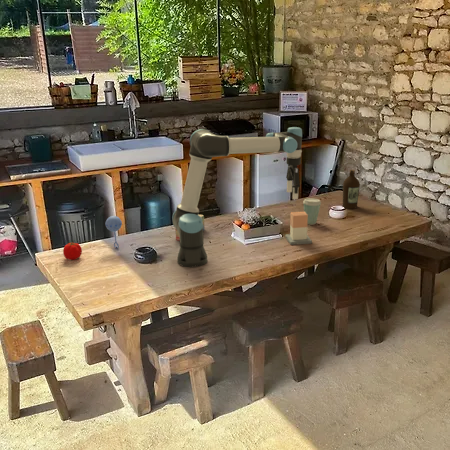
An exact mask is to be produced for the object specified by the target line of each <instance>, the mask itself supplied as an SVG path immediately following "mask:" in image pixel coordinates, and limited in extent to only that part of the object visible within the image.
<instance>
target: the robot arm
mask: <svg viewBox="0 0 450 450" xmlns="http://www.w3.org/2000/svg"><path fill="white" fill-rule="evenodd" d="M302 140H303V129H302V128H301V127H299V126H298V127H297V126H292V127H288V128H287V131H285V132H284V131H282V132H281V131H280V132H268V133H266V135H265V136H256V137H255V136H253V137H251V136H250V137H249V136H248V137H229V136H228V135H219V134H214V133H213V132H211V131H210V130H207V129H205V128H204V129H203V128H201V129H196V130H195V131H194V132H193V133H191V135H190V138H189V145H190V149H189V153H188V155H189V157H190V161H189V166H188V171H187V175H186V178H185V179H186V180H185V184H184V188H183V192H182V197H181V200H180V203H179V204H177V206H176V210H175V211H174V212H173V214H172V217H171V218H172V222H171V223H172V225H173V227H174V229H176V230H177V231H178V233H179V235H180V241H179V247H180V248H179V251H178V253H177V259H176V260H177V261H176V262H177V264H178V265H180V266H181V267H186V268H196V267H201V266H203V265H205V264H206V263H208V254H207V252H206V249H205V245H204V230H203V222H202V218H201V217H200V216H199V215H200V214H199V213H200V209H199V208H198V205H199V201H200V196H201V192H202V188H203V183H204V179H205V175H206V171H207V168H208V167H207V166H208V163H209V162H210V161H212V159H213V158H217V157H218V158H219V157H228V156H229V155H231V154H232V155H233V154H235V155H236V154H257V153H258V154H260V153H261V154H262V153H284V152H285V153H286V165H287V171H286V193H292V200H298V199H299V189H300V187H301V183H300V182H301V181H300V169H299V168H298V166H300V165H301V164H302V162H301V161H302V152H303V150H302V144H303V143H302ZM198 214H199V215H198ZM176 230H175V231H176Z"/></svg>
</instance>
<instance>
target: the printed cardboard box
mask: <svg viewBox="0 0 450 450" xmlns="http://www.w3.org/2000/svg"><path fill="white" fill-rule="evenodd" d="M198 215H199V216H200V217H201V218H202V222H203V231H205V230H206V229H205V216H204V215H203V214H199V213H198ZM174 229H175V228H174ZM175 240H176V241H179V242H180V235H179V233H178V231H177V230H176V229H175Z"/></svg>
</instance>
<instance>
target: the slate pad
mask: <svg viewBox="0 0 450 450" xmlns="http://www.w3.org/2000/svg"><path fill="white" fill-rule="evenodd" d="M284 237H285V239H286V241H287V242H288V243H289V245H291V246H294V245H310V244H313V240H312V239H311V238H310V236H309V235H308V234H307V239H300V240H292V238H291V237H290V233H289V234H285V235H284Z"/></svg>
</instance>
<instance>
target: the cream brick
mask: <svg viewBox="0 0 450 450" xmlns="http://www.w3.org/2000/svg"><path fill="white" fill-rule="evenodd" d="M289 228H290V229H289V230H290V231H289V234H290V237H291V238H292V240H300V239H307V235H308V226H307V227H301V228H293V227H292V226H291V225H290V227H289Z"/></svg>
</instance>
